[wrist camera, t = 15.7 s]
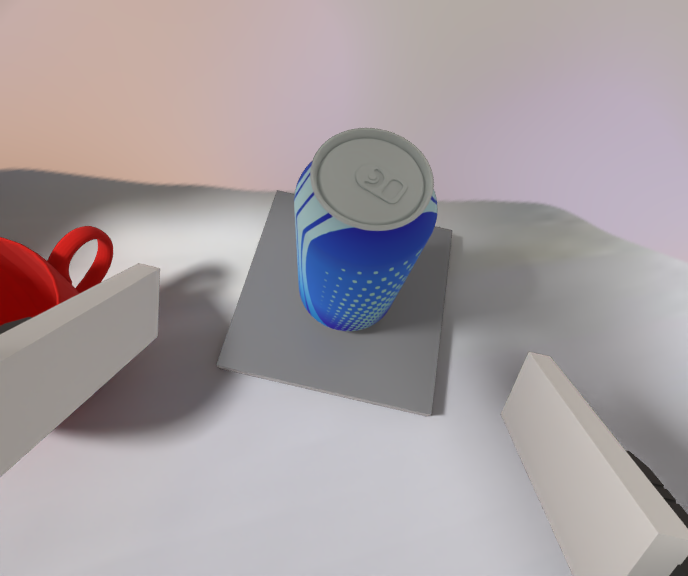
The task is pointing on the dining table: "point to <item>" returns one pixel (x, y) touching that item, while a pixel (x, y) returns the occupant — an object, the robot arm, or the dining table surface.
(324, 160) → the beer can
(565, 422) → the robot arm
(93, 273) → the ceramic cup
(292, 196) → the slate tile
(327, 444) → the dining table surface
